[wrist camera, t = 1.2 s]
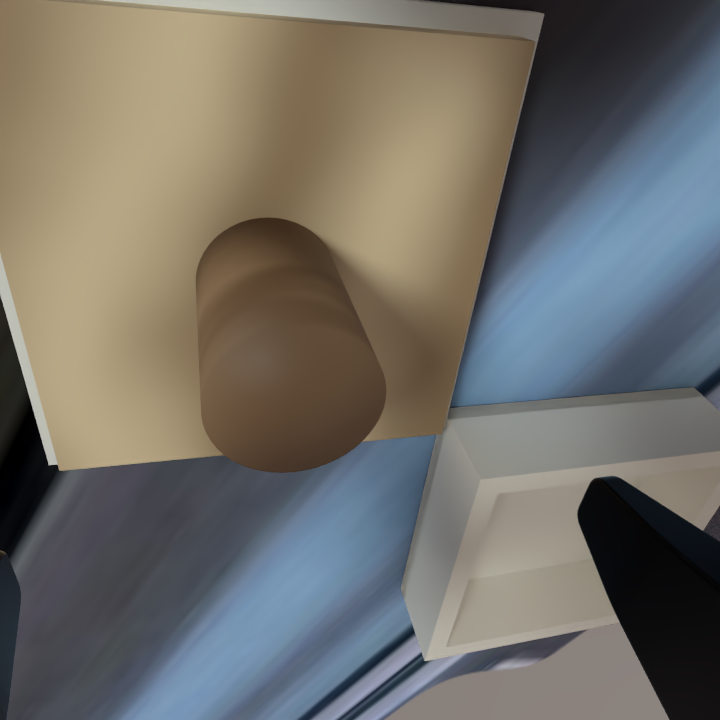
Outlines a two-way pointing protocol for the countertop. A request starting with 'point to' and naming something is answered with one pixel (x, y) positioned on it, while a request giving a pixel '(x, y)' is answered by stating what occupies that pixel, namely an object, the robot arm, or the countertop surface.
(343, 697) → the countertop surface
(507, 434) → the dish
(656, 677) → the robot arm
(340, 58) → the lid
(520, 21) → the mat
